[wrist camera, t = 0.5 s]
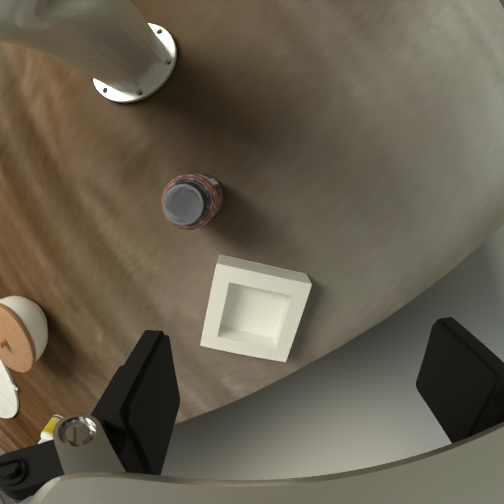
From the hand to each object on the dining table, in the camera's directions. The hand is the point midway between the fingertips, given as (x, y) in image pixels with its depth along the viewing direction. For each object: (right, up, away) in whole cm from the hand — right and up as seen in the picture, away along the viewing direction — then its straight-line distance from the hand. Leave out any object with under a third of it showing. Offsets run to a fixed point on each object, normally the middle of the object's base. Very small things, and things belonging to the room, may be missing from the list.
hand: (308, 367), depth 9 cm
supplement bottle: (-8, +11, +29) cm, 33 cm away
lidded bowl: (-42, -8, +34) cm, 55 cm away
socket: (-2, -3, +33) cm, 33 cm away
